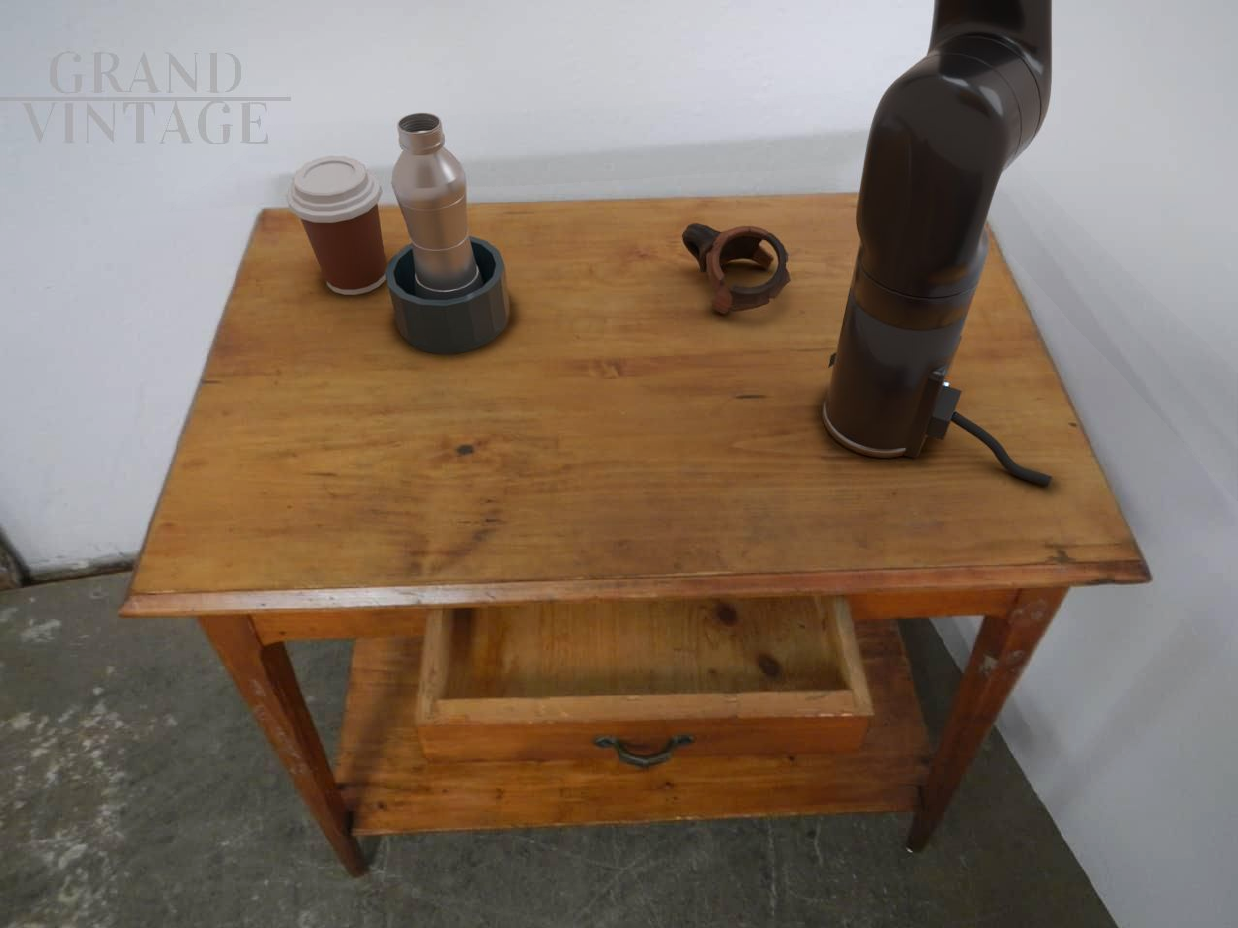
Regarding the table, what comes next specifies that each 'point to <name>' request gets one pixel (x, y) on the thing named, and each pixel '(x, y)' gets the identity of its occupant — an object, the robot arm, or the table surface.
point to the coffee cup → (341, 221)
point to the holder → (450, 305)
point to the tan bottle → (434, 210)
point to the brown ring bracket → (731, 246)
